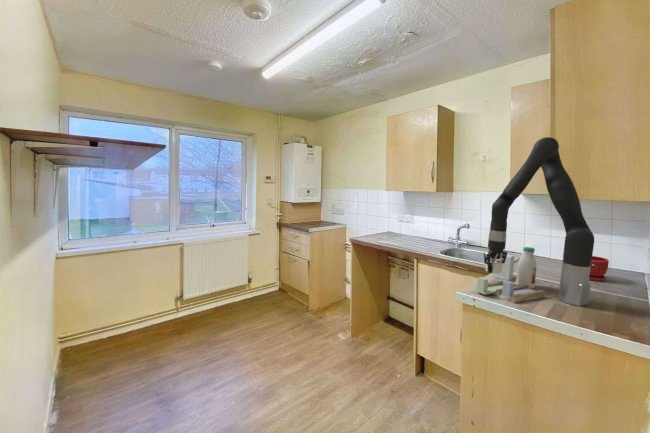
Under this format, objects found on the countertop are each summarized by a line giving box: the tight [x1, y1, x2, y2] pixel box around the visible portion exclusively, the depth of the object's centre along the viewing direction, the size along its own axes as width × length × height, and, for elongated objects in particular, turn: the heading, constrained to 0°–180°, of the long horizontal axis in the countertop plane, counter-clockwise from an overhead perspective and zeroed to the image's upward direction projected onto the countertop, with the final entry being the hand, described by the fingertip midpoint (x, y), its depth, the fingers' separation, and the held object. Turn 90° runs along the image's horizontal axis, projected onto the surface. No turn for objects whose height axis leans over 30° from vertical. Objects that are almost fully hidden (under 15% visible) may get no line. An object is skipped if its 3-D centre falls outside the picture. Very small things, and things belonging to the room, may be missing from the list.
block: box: [485, 261, 503, 275], centre depth 144 cm, size 5×5×5 cm
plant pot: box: [589, 255, 610, 282], centre depth 157 cm, size 13×13×12 cm
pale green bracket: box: [475, 276, 503, 295], centre depth 134 cm, size 5×19×7 cm, turn 110°
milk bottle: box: [515, 246, 537, 289], centre depth 143 cm, size 8×8×20 cm
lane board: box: [488, 279, 546, 304], centre depth 134 cm, size 16×20×3 cm
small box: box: [492, 253, 516, 281], centre depth 156 cm, size 8×6×13 cm
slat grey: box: [500, 280, 536, 299], centre depth 130 cm, size 5×19×7 cm, turn 110°
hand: (493, 271), depth 144 cm, fingers closed on block, 5 cm apart
